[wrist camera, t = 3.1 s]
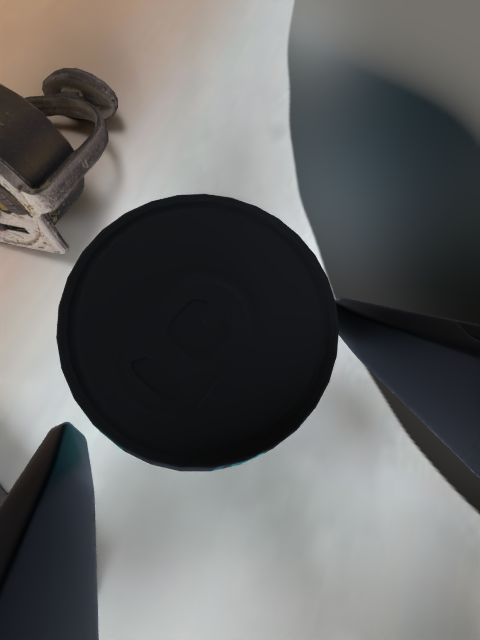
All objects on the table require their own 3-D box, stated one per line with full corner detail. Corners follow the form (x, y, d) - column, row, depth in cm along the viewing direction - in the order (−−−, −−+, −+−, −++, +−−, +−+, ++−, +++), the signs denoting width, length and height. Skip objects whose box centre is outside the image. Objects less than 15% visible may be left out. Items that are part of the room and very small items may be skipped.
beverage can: (276, 347, 18) (420, 302, 6) (208, 435, 16) (234, 599, 5) (196, 280, 18) (190, 112, 6) (120, 361, 16) (-79, 337, 5)
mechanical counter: (-238, 107, 11) (-111, 223, 9) (-11, -71, 13) (137, -10, 11) (-43, 215, 18) (53, 295, 16) (85, 89, 20) (186, 146, 18)
